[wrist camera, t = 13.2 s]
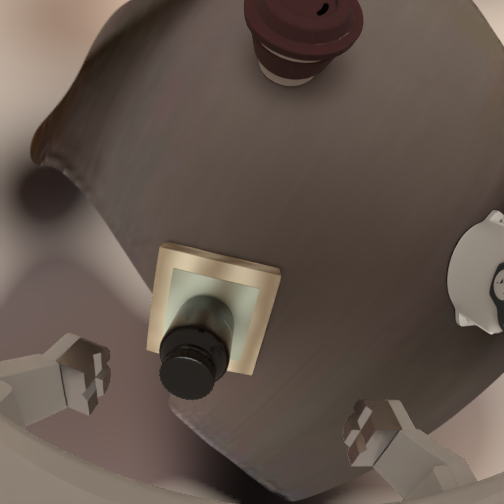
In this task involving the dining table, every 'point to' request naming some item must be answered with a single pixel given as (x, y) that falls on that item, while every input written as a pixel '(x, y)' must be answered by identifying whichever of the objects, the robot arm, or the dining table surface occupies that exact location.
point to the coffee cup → (301, 35)
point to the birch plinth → (216, 285)
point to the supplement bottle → (196, 347)
